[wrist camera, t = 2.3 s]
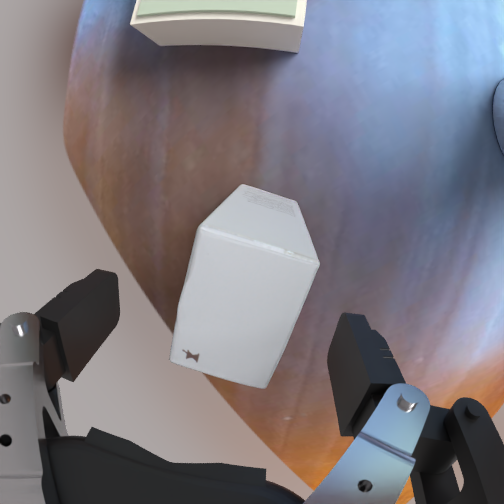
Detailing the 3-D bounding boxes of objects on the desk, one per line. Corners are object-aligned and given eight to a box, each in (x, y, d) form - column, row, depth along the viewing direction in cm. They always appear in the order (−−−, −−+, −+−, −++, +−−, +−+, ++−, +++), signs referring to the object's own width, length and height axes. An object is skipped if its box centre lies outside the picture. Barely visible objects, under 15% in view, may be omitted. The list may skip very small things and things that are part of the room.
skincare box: (273, 276, 22) (265, 394, 11) (218, 259, 22) (164, 364, 11) (300, 199, 20) (324, 263, 9) (241, 180, 20) (192, 222, 9)
